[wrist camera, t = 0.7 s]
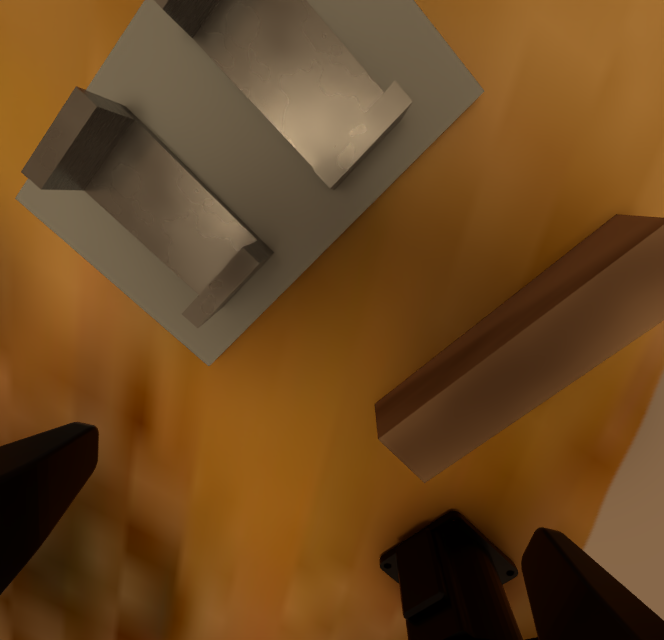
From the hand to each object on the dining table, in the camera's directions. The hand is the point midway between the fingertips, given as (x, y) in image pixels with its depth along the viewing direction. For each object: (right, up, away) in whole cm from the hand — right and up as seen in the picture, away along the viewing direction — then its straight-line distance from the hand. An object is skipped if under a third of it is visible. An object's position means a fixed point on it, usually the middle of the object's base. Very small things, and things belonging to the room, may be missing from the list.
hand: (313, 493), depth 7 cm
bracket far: (-7, +8, +10) cm, 15 cm away
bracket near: (-1, +14, +8) cm, 16 cm away
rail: (+9, +2, +12) cm, 16 cm away
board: (-4, +11, +10) cm, 15 cm away
